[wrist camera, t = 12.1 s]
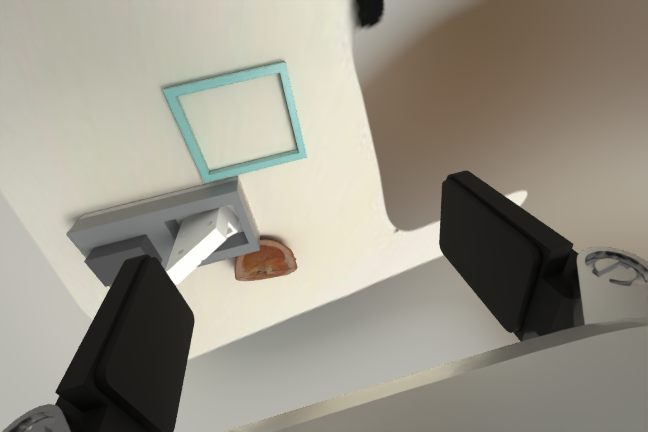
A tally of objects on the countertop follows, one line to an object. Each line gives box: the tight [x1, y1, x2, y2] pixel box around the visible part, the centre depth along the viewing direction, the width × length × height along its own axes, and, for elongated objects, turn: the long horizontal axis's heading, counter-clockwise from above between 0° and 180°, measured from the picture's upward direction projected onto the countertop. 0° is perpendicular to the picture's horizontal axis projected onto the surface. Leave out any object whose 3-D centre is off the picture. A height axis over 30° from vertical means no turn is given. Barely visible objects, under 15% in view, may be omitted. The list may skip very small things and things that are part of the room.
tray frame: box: [163, 61, 307, 183], centre depth 34 cm, size 11×13×1 cm
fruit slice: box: [235, 239, 297, 281], centre depth 43 cm, size 8×7×5 cm
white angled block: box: [165, 206, 238, 285], centre depth 36 cm, size 4×10×9 cm
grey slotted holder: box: [66, 176, 260, 287], centre depth 37 cm, size 9×19×6 cm, turn 100°
